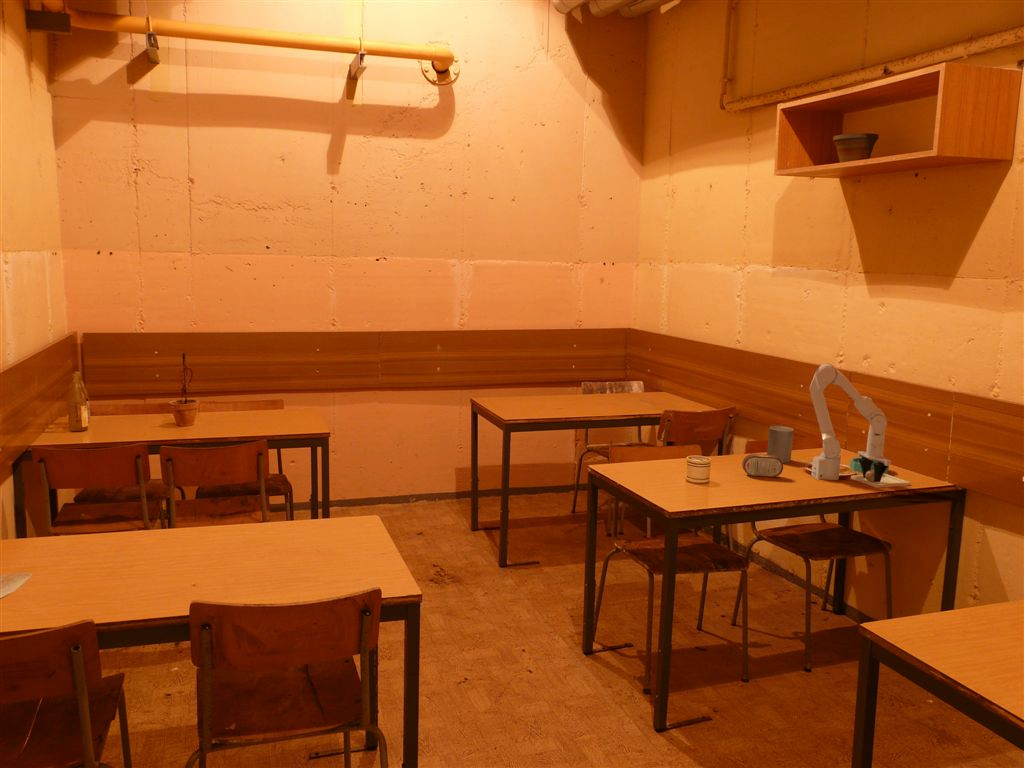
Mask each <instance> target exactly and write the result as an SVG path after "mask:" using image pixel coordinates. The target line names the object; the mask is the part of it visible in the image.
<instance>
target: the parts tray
mask: <svg viewBox="0 0 1024 768" xmlns="http://www.w3.org/2000/svg"><path fill="white" fill-rule="evenodd" d="M850 479H852V480H854V481H857V482H860V483H863V484H865V485H867V486H870V487H873V488H875V489H879V488H889V487H890V488H891V487H893V488H894V487H903V486H905V487H906V486H911V481H909V480H905V479H902V478H900V477H899V478H898V477H896V476H893V475H890V474H883V476H882V478H881V481H880V482H873V483H872V482H869V481H867V480H866V478H863V474H858V475H850Z"/></svg>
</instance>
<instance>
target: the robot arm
mask: <svg viewBox="0 0 1024 768" xmlns="http://www.w3.org/2000/svg"><path fill="white" fill-rule="evenodd" d="M830 383H832V385H836V386H839V387H841V388H842V389H843V391H845V392H846V393H847V395H848V396H850V398H851V399H852V400H853V401H854V403H853V404H854V407H855V408H856V410H857V411H858V412H859V413H860V414H861V415H862V416H863V417H864V418H865V420H867V421H868V422H869V430H868V434H867V442H866V451H863V450H862V451H861V450H860V451H859V450H858V451H857V458H861V459H859V463H860V465H861V468H862V472H863V473H862V475H863V478H865V474H866V472H867V471H868V470H870V469H871V466H872V463H873V461H875V462H878V463H873V466H874V471H875V476H874V481H875V482H880V481H881V478H882V476H883V474H884V472H885V470H886V469H887V468H888V467H889V468H890V466H891V464H892V460H891V459H888V458H887V457H885V455H883V454H884V448H885V439H886V438H885V437H886V427H887V426H888V420H887V417H886V415H885V413H884V412H883V411H882V408H878V406H877V405H876V404H874V402H873V401H874V400H873V399H872V398H871V397H868V396H867V395H861V393H860V392H859V391H858V390H857V389H856V388H855V386H854V385H853V384H852V383H851V381H850V380H849V379H848V378H847V377H846V376H845V375H844V374H843V373H842V372H841V371H840V370H838V369H836V368H835V366H834V365H833V364H832V363H829V362H828V363H827V362H825V363H822V364H821V365H820V366H819V367H818V368H817V369H816V370H815V372H814V375H813V378H812V381H811V383H810V385H809V393H810V397H811V401H812V405H813V409H814V412H815V416H816V418H817V422H818V426H819V430H820V434H821V438H822V452H821V453H820V455H818V456H817V455H816V456H814V457H813V459H812V463H811V474H810V476H811V477H812V478H813V479H815V480H816V481H818V480H829V481H833V480H834V481H835V480H836V481H837V480H839V479H840V478H839V477H840V470H841V469H840V468H841V457H842V456H841V455H840V453H841V452H842V449H841V442H840V440H839V439H838V437H836V433H835V430H834V427H833V424H832V420H831V417H830V413H829V409H828V405H827V402H826V397H825V394H824V390H825V389H826V387H827V386H828V385H829V384H830Z"/></svg>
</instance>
